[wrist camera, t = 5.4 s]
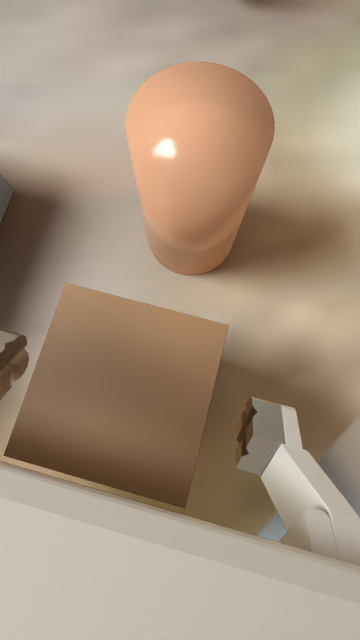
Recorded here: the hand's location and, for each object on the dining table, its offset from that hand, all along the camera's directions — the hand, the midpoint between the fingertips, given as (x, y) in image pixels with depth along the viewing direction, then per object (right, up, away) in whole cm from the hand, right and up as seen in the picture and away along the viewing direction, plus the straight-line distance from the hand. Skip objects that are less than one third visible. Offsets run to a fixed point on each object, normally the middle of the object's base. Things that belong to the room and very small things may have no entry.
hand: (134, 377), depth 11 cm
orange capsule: (+2, +7, +7) cm, 10 cm away
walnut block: (0, -1, +5) cm, 6 cm away
